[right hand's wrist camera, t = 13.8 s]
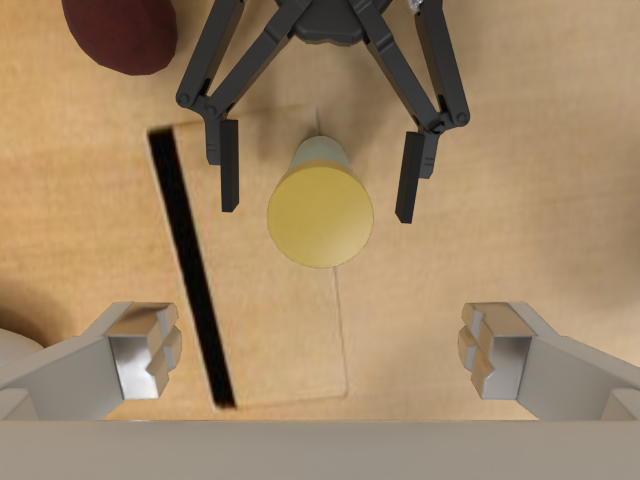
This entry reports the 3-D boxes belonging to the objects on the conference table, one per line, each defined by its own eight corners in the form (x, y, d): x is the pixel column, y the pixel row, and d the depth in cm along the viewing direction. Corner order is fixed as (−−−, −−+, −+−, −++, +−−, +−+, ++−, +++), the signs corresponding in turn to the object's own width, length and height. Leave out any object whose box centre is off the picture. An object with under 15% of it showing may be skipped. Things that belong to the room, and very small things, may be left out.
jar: (348, 137, 34) (373, 173, 18) (343, 190, 35) (361, 263, 20) (295, 133, 33) (274, 166, 18) (292, 186, 35) (271, 257, 20)
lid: (373, 162, 20) (380, 170, 18) (362, 254, 22) (367, 271, 20) (273, 155, 20) (268, 162, 18) (271, 247, 22) (265, 264, 19)
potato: (143, -52, 28) (89, -97, 22) (211, 42, 31) (181, 28, 24) (76, 12, 30) (7, -11, 23) (145, 98, 32) (100, 99, 26)
